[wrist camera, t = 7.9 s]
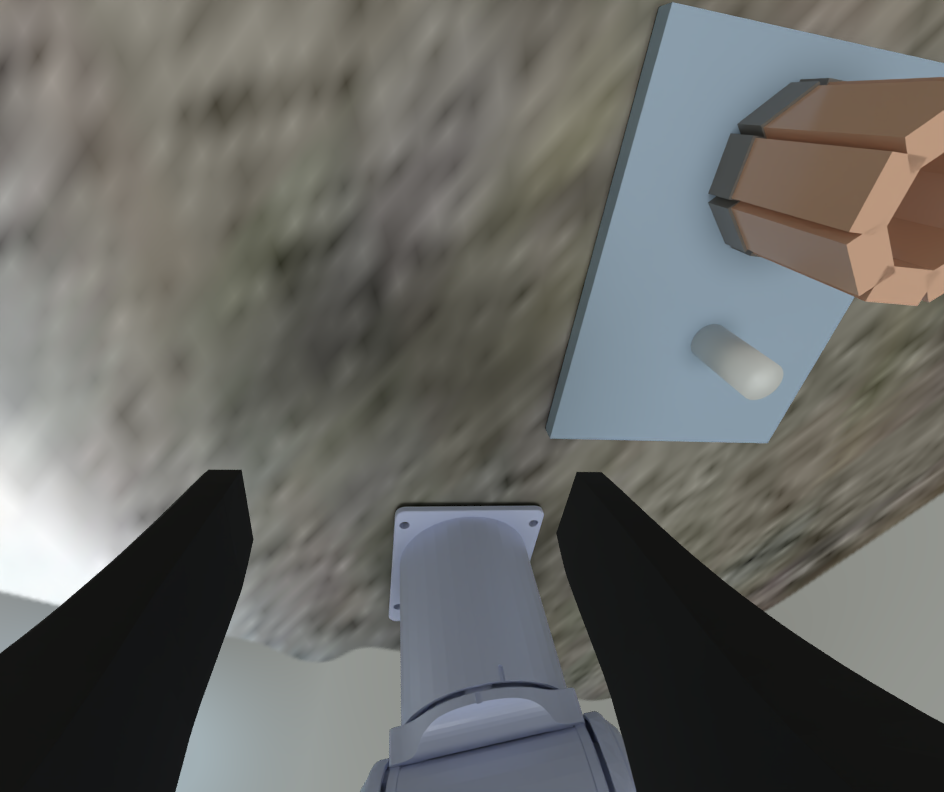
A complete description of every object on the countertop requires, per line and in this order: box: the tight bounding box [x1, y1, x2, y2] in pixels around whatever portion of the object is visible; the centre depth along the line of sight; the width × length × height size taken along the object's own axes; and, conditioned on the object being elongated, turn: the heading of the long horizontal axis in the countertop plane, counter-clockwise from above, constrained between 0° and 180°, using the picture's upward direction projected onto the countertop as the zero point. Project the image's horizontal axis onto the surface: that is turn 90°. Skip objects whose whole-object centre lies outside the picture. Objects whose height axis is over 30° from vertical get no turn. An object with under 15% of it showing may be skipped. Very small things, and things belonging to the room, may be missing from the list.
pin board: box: [546, 2, 944, 443], centre depth 18 cm, size 16×12×4 cm
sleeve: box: [708, 77, 944, 306], centre depth 14 cm, size 5×5×6 cm
